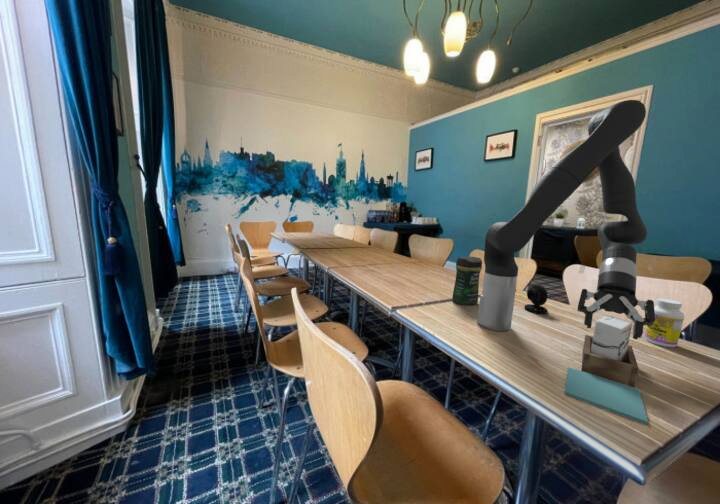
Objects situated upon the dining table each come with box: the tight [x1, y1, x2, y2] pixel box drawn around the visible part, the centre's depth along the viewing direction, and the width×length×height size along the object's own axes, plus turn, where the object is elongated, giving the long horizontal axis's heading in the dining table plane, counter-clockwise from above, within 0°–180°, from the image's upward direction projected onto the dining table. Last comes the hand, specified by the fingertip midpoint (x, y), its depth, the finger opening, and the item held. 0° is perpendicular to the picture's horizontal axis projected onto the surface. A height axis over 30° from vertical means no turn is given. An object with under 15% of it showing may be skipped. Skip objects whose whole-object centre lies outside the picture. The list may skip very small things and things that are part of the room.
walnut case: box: [581, 334, 639, 388], centre depth 67 cm, size 9×13×4 cm
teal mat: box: [563, 366, 649, 425], centre depth 58 cm, size 12×12×1 cm
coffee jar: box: [451, 256, 483, 306], centre depth 110 cm, size 10×8×19 cm
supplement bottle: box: [644, 297, 685, 348], centre depth 81 cm, size 7×7×13 cm
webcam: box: [523, 284, 549, 315], centre depth 104 cm, size 8×8×10 cm
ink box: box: [590, 315, 633, 363], centre depth 67 cm, size 9×5×12 cm, turn 123°
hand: (611, 332), depth 68 cm, fingers open, 8 cm apart
